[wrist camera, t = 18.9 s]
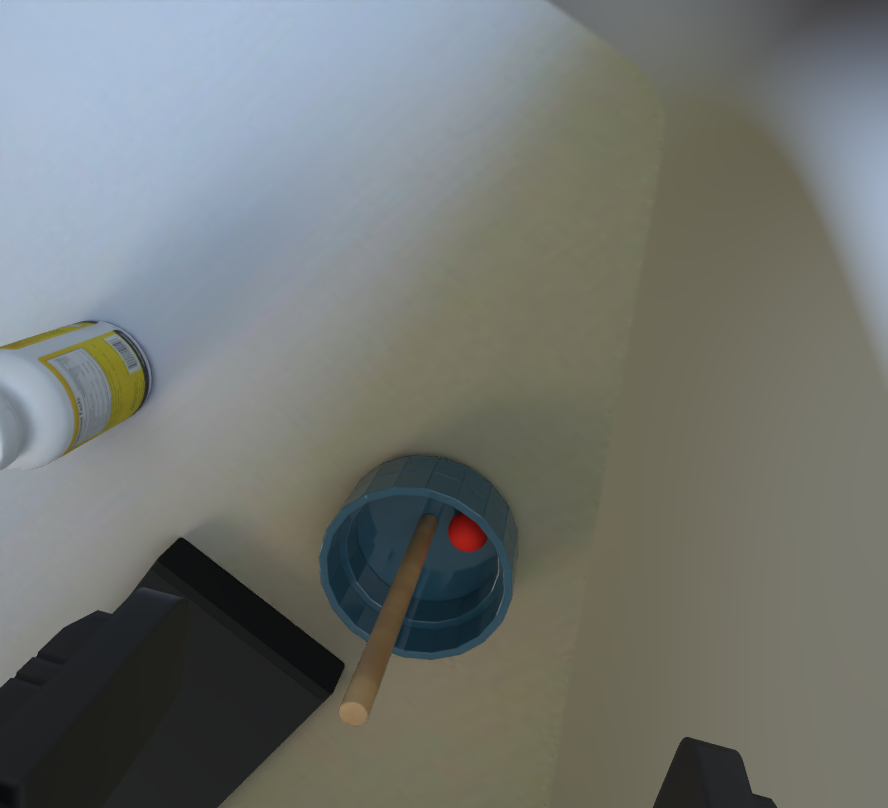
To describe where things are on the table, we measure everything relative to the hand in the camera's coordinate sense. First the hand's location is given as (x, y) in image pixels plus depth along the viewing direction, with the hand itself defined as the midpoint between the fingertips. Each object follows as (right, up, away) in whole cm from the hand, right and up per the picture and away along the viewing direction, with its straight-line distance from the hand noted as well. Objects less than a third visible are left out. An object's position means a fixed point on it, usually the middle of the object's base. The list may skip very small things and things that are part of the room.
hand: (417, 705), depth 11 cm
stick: (-1, -2, +31) cm, 31 cm away
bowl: (0, -3, +32) cm, 32 cm away
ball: (+2, -3, +30) cm, 30 cm away
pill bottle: (-21, +7, +33) cm, 39 cm away
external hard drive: (-19, -17, +40) cm, 48 cm away
